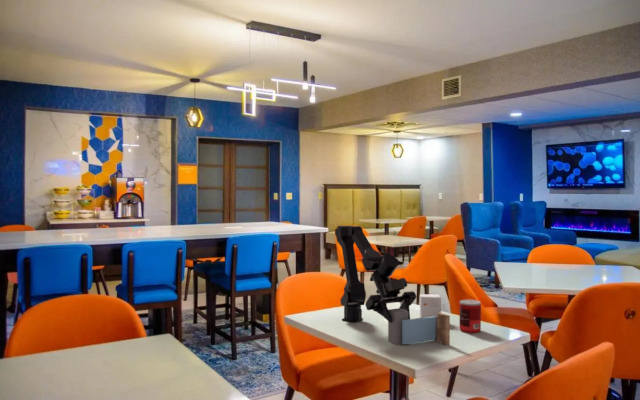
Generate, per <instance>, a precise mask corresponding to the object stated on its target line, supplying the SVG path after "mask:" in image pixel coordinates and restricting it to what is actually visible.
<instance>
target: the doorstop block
mask: <svg viewBox="0 0 640 400" xmlns="http://www.w3.org/2000/svg"><path fill="white" fill-rule="evenodd" d="M388 311H389V313H390V315H391V317H392V320H393V322H392V323H390V322H389V321H388V320H387V323H388V326H387V331H388V336H387V338H388V339H387V341H388V342H389V343H392V344H394V345H403V344H402V320H408V311H407V310H404V309H401V308H399V307H397V308H392V309H390V308H388Z"/></svg>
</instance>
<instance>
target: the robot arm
mask: <svg viewBox="0 0 640 400" xmlns="http://www.w3.org/2000/svg"><path fill="white" fill-rule="evenodd" d="M334 236H335V237H336V238H335V239H336V242H337V243H338V244H339V245H340V247H341V251H342V256H343V263H344V264H343V265H344V272H345V278H346V283H345V285H344V287H343V294H342V296H341V297H340V300H339V301H340V305H341V306H343V315H344V316H343V318H341V321H345V322H350V323H357V322H361V321H363V320H364V318H363V317H362V316H363V313H362V312H363V310H362V306H364V305H365V307H366V310H367V311H372V310H373V312H376V313H377V314H378V315H381V316H382V317H383V318H384V319H385V320H387V322H388V321H389V322H390V323H392V322H393V320H392V317H391V315H390V313H389V311H388V310H389V308H388V307H387V304H394V303H395V304H396V303H399V304H400V306H399V307H398V308H401V309H404V310H407V311H408V319H411V314H410V306H412V305H413V303H414V302H415V300H416V299H417V298H418V296H417V294H416V292H415V291H413V290H411V291H405V292H403V293H402V295H400V293H401V290H405V288H406V287H407V286H408V282H407V279H406V278H405V277H400V278H399V279H397V280H396V279H395V280H391V278H390V277H391V276H392V275H393V274H394V273H395V271H396V269H397V268H398V266H399V264H400V261H399V259H398V258H397V257H396V256H394V255H392V254H391V252H384V254H383V255H382V254H381V253H380V252H379V251H377V250H375V249H374V248H373V246H372V244H371V242H370V241H369V239H368V238H367V236H366V234H365V233H364V230H363V227H362V226H360V225H351V224H350V225H337V227H336V228H335V230H334ZM354 245H356V247H357V249H358V251H359V253H360V254H361V257H362V258H361V263H362V265H363V268H364V270H365V271H367V272H373V273H371V275H370V277H369V281H370V282H374V285H375V287H376V291H375V292H376V294H370V295H369V297H368V299H367V300H366V298H367V292H366V288H365V287H366V285H365V283H364V282H361V281H360V279H359V273H358V267H357V261H356V253H355V248H354V247H355V246H354ZM398 295H400V296H398Z"/></svg>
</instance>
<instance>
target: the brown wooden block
mask: <svg viewBox="0 0 640 400" xmlns="http://www.w3.org/2000/svg"><path fill="white" fill-rule="evenodd" d="M450 316H451V315H449V314H446V313H443V312H441V313H437V341H436V342H437V343H440V344H443V345H444V346H450V344H451V343H450V337H451V336H450V335H451V332H450V327H451V323H450V322H451V320H450V319H451V317H450Z"/></svg>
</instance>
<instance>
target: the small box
mask: <svg viewBox="0 0 640 400" xmlns="http://www.w3.org/2000/svg"><path fill="white" fill-rule="evenodd" d="M437 313H442V297H441V296H440V294H436V293H435V294H425V293H422V294H421V293H420V294H419V318H424V317H432V316H437Z"/></svg>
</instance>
